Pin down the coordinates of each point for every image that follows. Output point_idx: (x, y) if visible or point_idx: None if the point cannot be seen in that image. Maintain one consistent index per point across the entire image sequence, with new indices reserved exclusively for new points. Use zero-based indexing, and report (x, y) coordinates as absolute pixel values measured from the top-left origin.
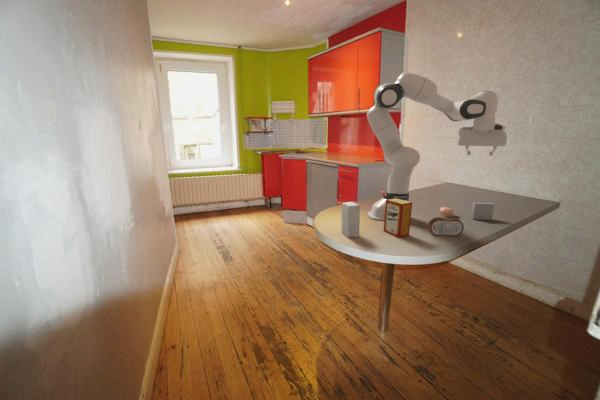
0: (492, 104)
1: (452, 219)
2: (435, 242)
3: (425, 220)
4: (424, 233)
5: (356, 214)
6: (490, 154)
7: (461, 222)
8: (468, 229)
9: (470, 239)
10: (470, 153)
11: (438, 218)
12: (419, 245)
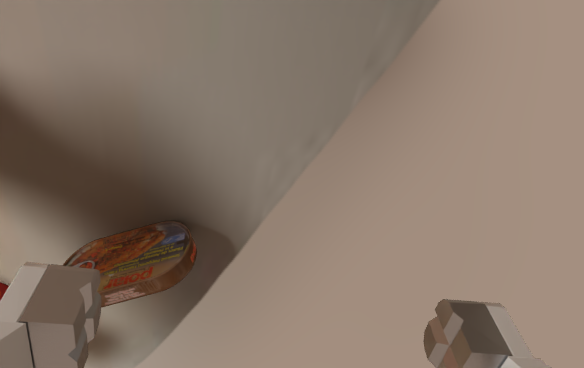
0: None
1: (143, 293)
2: (112, 310)
3: (12, 62)
4: (59, 250)
5: None
6: (443, 354)
7: (181, 279)
8: (232, 134)
9: (225, 246)
10: (90, 308)
11: None
12: None
